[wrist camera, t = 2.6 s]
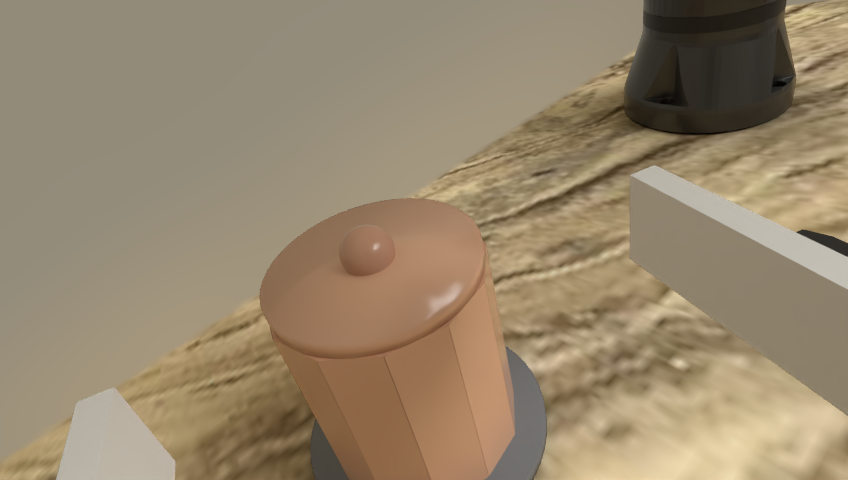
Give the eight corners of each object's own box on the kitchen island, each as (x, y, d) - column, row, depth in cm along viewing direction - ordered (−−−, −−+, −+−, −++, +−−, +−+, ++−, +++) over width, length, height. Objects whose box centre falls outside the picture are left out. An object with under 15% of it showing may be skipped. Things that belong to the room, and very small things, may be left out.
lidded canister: (359, 353, 34) (289, 185, 27) (512, 343, 31) (479, 157, 24) (317, 504, 26) (202, 322, 19) (517, 503, 24) (471, 298, 17)
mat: (345, 345, 36) (342, 336, 35) (538, 331, 33) (537, 322, 32) (283, 545, 25) (277, 537, 25) (558, 550, 22) (556, 541, 22)
